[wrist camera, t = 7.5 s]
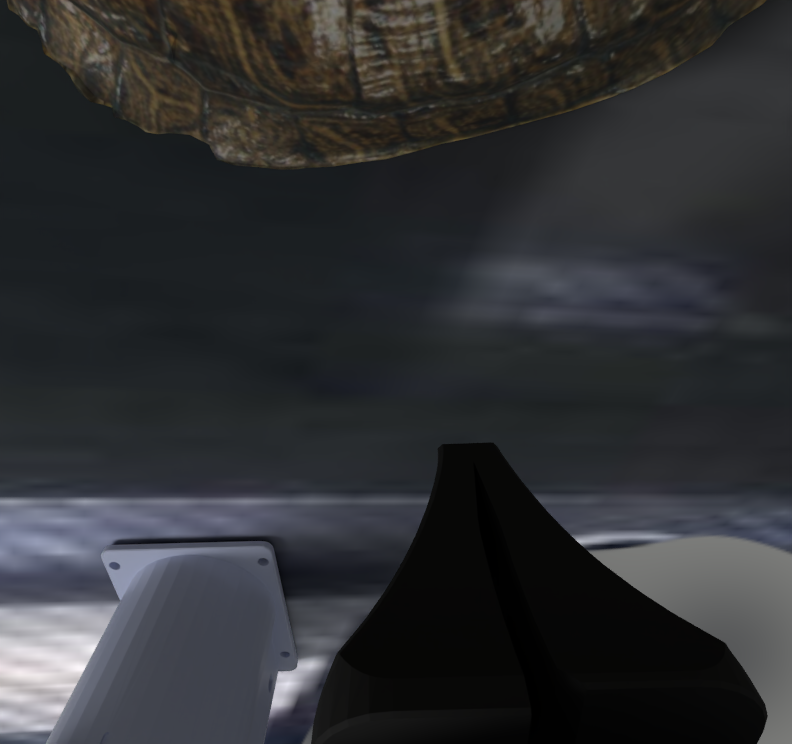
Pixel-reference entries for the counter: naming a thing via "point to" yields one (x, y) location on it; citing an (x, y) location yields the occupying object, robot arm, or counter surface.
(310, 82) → the turtle shell
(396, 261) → the counter surface
